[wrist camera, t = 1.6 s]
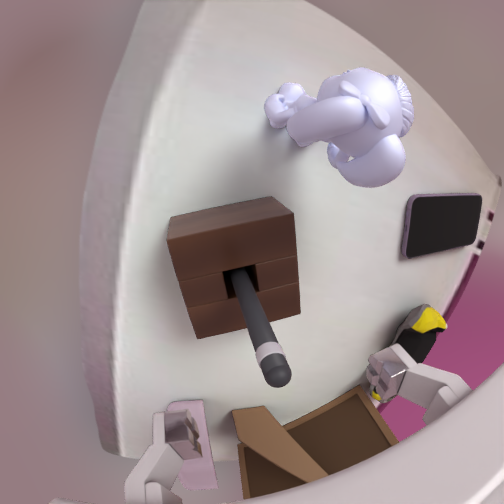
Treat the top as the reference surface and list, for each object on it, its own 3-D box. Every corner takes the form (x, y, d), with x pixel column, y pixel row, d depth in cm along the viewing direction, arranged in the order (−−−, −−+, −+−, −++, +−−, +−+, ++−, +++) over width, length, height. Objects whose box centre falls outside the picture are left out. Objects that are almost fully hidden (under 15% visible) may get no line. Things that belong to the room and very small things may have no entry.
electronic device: (163, 397, 29) (167, 469, 20) (201, 395, 30) (213, 466, 21) (176, 434, 33) (183, 493, 24) (208, 432, 34) (219, 490, 25)
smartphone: (412, 195, 24) (483, 194, 27) (405, 193, 25) (477, 191, 28) (403, 260, 27) (474, 244, 30) (397, 256, 28) (469, 241, 31)
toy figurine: (346, 114, 21) (459, 118, 10) (308, 173, 22) (408, 216, 11) (281, 64, 18) (373, 13, 7) (237, 127, 19) (298, 118, 9)
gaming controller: (352, 380, 36) (397, 371, 39) (370, 407, 31) (415, 392, 34) (398, 293, 30) (440, 294, 33) (425, 318, 25) (464, 314, 28)
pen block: (170, 217, 21) (166, 240, 17) (271, 196, 22) (294, 212, 18) (193, 303, 24) (197, 339, 20) (281, 282, 26) (300, 313, 21)
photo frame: (363, 394, 39) (434, 508, 16) (249, 451, 39) (288, 570, 17) (345, 349, 32) (451, 509, 10) (199, 421, 32) (234, 586, 10)
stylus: (221, 247, 23) (265, 379, 10) (236, 243, 23) (295, 371, 11) (224, 261, 24) (268, 396, 11) (238, 257, 24) (296, 388, 11)
